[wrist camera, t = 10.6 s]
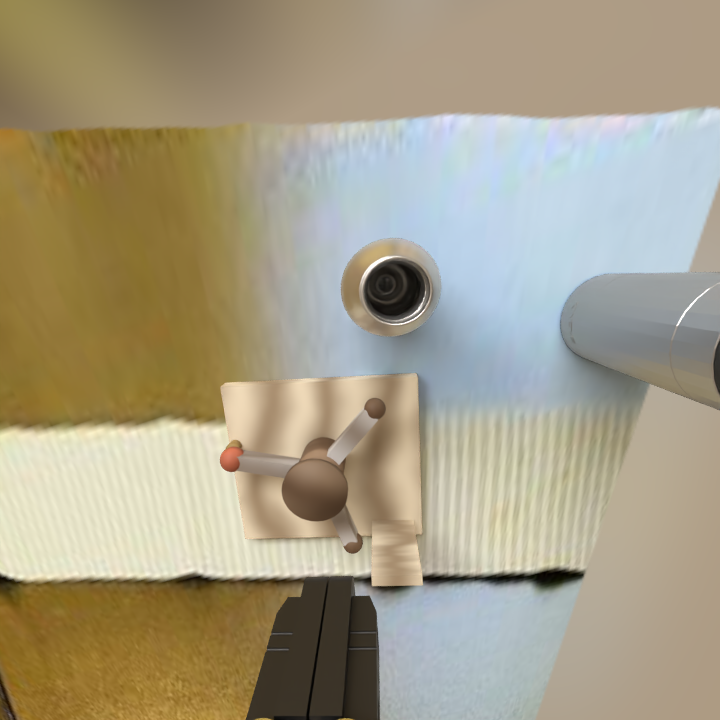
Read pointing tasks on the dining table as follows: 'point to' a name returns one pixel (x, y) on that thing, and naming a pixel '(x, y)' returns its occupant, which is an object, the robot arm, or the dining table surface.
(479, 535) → the dining table surface
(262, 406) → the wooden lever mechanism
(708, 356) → the robot arm
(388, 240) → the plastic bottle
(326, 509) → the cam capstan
